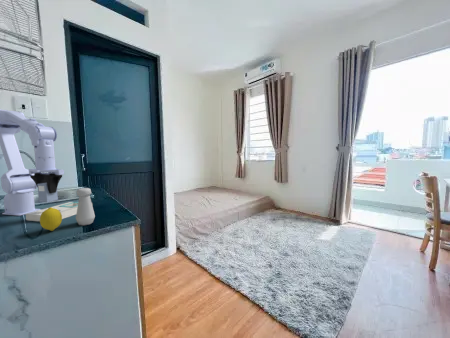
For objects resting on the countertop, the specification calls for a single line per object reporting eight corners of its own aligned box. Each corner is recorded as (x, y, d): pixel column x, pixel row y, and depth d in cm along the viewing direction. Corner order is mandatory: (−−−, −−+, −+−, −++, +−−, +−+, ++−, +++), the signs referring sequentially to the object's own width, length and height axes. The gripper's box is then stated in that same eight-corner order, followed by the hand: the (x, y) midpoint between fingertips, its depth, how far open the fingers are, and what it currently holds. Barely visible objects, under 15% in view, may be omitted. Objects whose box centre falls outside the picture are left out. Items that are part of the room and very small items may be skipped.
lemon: (49, 227, 69) (47, 205, 68) (66, 227, 69) (65, 205, 68) (36, 234, 63) (33, 210, 62) (54, 234, 64) (52, 209, 63)
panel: (26, 220, 76) (25, 213, 76) (71, 207, 93) (70, 201, 93) (51, 222, 74) (51, 215, 73) (92, 208, 91) (92, 202, 91)
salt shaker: (85, 226, 70) (83, 190, 68) (71, 225, 71) (69, 189, 69) (99, 221, 75) (97, 187, 74) (86, 220, 76) (84, 186, 75)
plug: (38, 201, 76) (36, 184, 75) (50, 199, 80) (48, 182, 80) (46, 202, 75) (45, 184, 75) (58, 199, 80) (56, 182, 79)
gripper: (17, 158, 74) (21, 193, 75) (49, 158, 71) (52, 195, 72) (39, 157, 81) (41, 190, 82) (68, 157, 78) (70, 191, 79)
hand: (48, 192), depth 78 cm, fingers closed on plug, 4 cm apart
